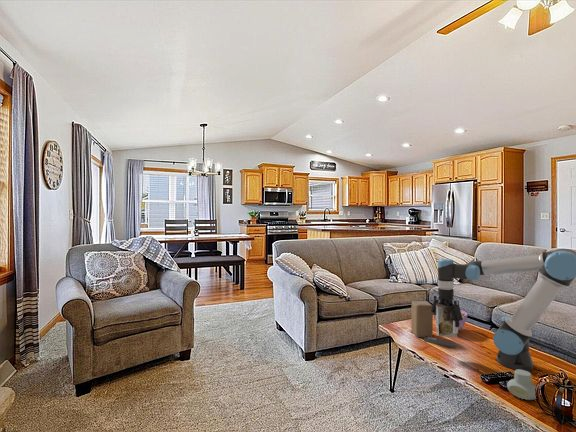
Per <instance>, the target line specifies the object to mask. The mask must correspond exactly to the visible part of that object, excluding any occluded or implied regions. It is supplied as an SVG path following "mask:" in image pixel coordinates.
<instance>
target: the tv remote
mask: <svg viewBox="0 0 576 432" xmlns="http://www.w3.org/2000/svg"><path fill="white" fill-rule="evenodd" d="M423 341H424V342H425V343H426V342H427V343H430V344H434V345H438V346H442V347H446V348H450V349H451V348H452V349H454V348H455V347H456V342H452V341H448V340H443V339H440V338H439V339H438V338H436V337H433V336H432V337H427V336H426V337H423Z"/></svg>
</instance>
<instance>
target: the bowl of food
mask: <svg viewBox="0 0 576 432" xmlns="http://www.w3.org/2000/svg"><path fill="white" fill-rule="evenodd" d="M460 311H461V314H462V318H463V320H461V321H459V327H458V331H460V330H462V329H463V328H464V327H465V324H466V321H467V318H468V313H467V312H466V310H465V311H464V310H462V309H460Z"/></svg>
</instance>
